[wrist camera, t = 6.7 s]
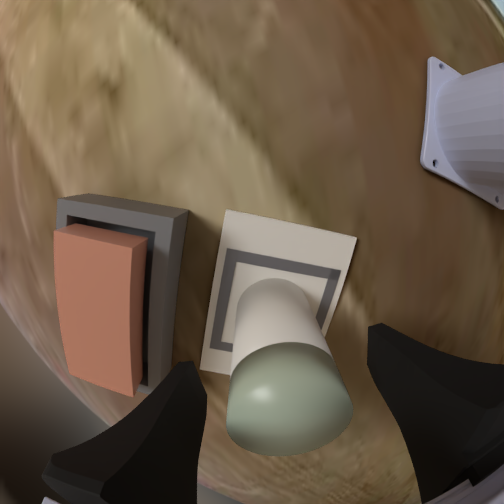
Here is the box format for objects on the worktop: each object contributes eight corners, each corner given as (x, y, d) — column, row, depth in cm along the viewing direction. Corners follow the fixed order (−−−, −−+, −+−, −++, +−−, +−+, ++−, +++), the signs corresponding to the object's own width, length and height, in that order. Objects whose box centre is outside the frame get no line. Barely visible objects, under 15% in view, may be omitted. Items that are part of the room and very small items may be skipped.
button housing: (188, 209, 14) (173, 218, 11) (171, 366, 16) (160, 397, 13) (88, 193, 13) (57, 198, 10) (89, 342, 16) (69, 366, 13)
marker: (301, 269, 14) (351, 365, 6) (313, 332, 15) (353, 439, 8) (227, 287, 14) (207, 396, 7) (246, 347, 15) (245, 462, 8)
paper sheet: (354, 236, 14) (357, 238, 14) (304, 380, 17) (305, 384, 16) (226, 209, 14) (226, 209, 13) (200, 366, 16) (199, 369, 16)
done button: (148, 237, 11) (132, 248, 9) (143, 376, 13) (133, 397, 12) (75, 223, 11) (54, 230, 9) (83, 356, 13) (69, 373, 11)
